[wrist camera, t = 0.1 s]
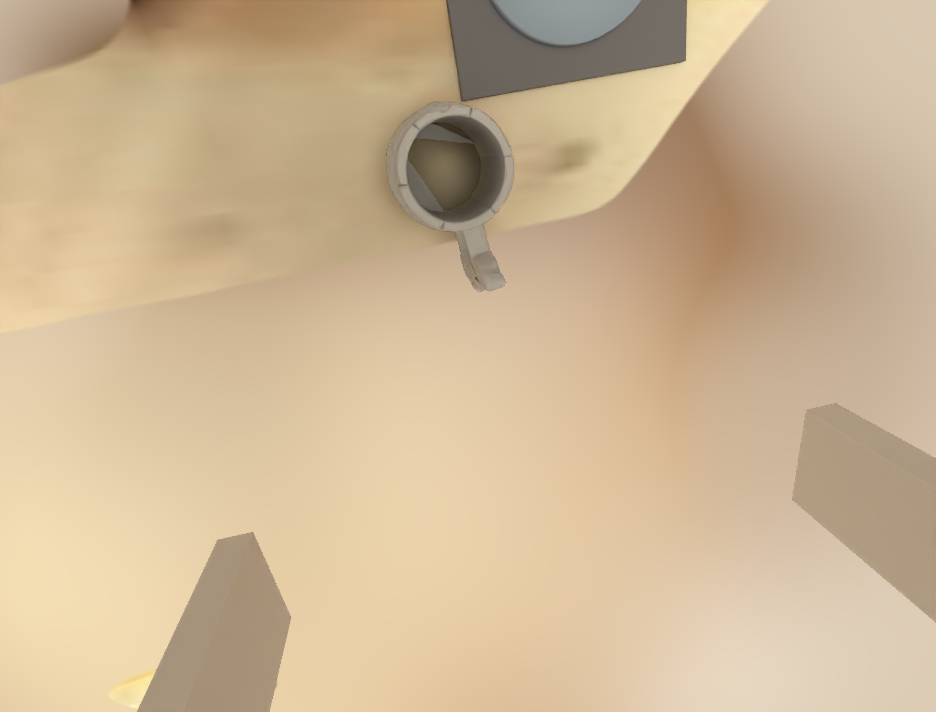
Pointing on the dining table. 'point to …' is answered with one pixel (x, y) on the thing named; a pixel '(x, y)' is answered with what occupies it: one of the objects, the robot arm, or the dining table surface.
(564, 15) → the lid
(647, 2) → the mat
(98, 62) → the dining table surface
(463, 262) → the mug
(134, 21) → the dining table surface
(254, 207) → the dining table surface
